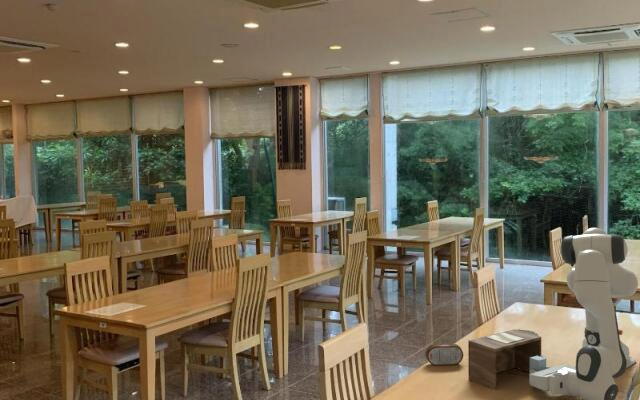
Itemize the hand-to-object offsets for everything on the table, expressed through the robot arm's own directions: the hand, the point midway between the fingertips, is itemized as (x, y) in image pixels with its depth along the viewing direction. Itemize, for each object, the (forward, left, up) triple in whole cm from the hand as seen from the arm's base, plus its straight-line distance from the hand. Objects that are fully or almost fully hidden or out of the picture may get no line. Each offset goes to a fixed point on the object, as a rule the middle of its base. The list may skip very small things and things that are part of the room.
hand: (535, 369), depth 228 cm
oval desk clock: (+8, -38, -7) cm, 40 cm away
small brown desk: (0, -14, -7) cm, 16 cm away
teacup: (-32, -31, -7) cm, 45 cm away
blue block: (0, +1, -5) cm, 6 cm away
